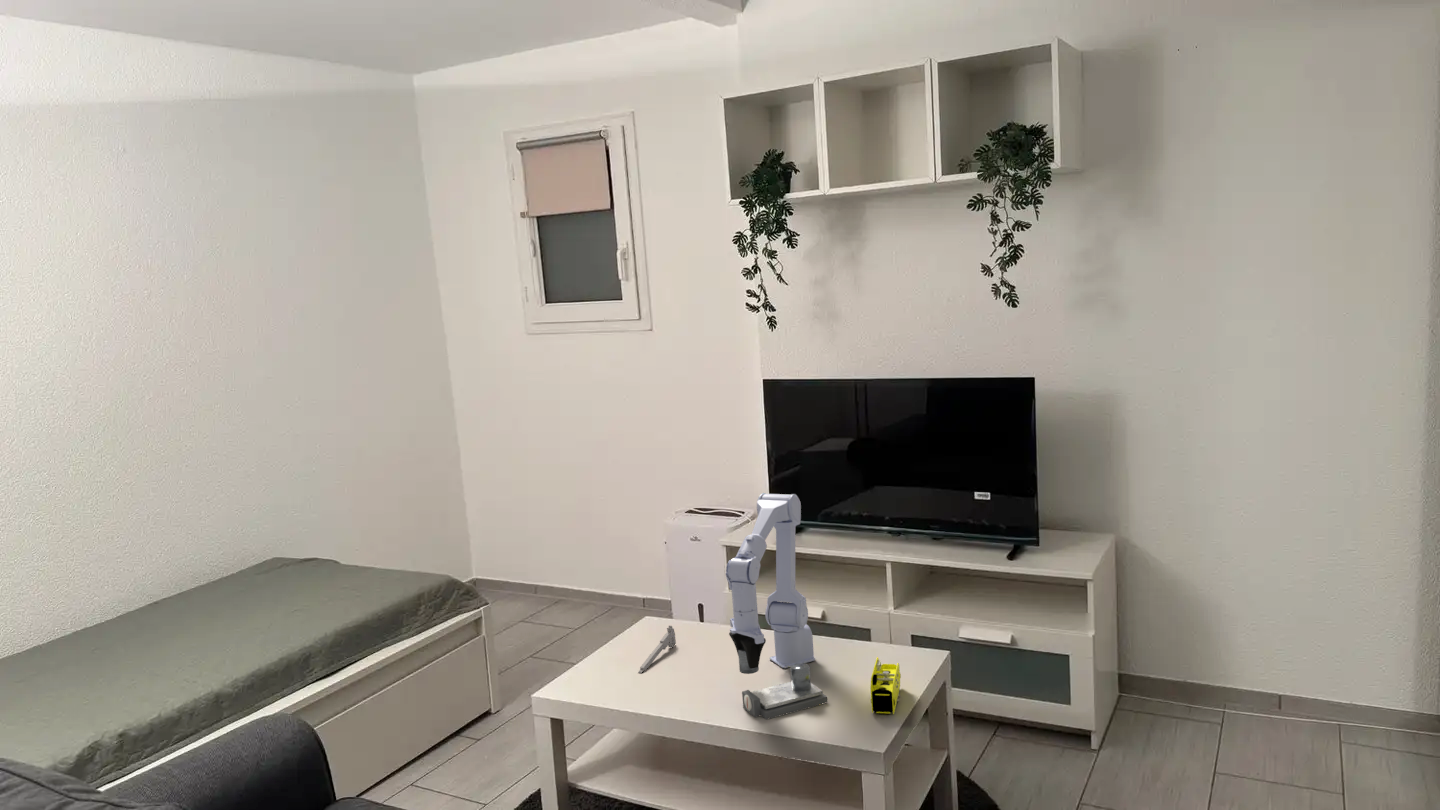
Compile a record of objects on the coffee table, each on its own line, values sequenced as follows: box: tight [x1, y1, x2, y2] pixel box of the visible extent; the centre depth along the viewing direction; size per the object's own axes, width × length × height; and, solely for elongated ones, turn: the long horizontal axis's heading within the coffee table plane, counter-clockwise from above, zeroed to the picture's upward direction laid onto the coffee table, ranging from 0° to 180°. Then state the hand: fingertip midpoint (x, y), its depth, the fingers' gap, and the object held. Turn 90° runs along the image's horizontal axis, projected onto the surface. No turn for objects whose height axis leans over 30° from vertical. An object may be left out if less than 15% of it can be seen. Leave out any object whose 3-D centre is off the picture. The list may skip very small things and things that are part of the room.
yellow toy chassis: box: [869, 656, 902, 715], centre depth 239 cm, size 16×6×8 cm, turn 165°
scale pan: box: [751, 681, 824, 710], centre depth 243 cm, size 15×9×1 cm, turn 115°
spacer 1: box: [737, 647, 760, 675], centre depth 246 cm, size 4×4×5 cm
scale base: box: [741, 689, 828, 720], centre depth 242 cm, size 18×11×4 cm, turn 115°
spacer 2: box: [789, 663, 812, 691], centre depth 244 cm, size 4×4×5 cm
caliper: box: [637, 625, 677, 674], centre depth 276 cm, size 20×1×6 cm, turn 157°
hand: (749, 663), depth 246 cm, fingers closed on spacer 1, 4 cm apart
